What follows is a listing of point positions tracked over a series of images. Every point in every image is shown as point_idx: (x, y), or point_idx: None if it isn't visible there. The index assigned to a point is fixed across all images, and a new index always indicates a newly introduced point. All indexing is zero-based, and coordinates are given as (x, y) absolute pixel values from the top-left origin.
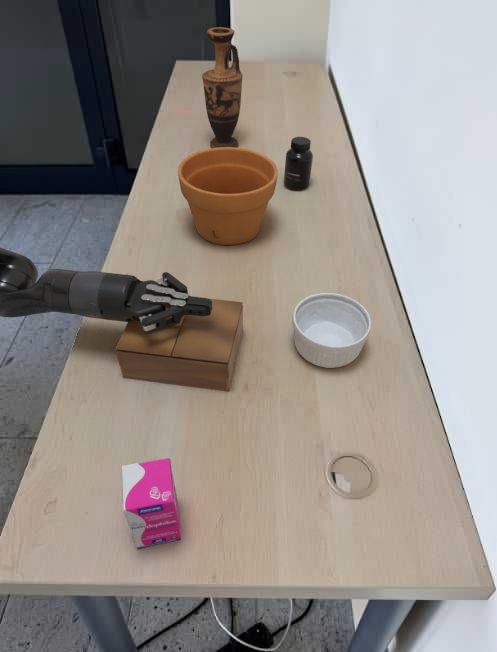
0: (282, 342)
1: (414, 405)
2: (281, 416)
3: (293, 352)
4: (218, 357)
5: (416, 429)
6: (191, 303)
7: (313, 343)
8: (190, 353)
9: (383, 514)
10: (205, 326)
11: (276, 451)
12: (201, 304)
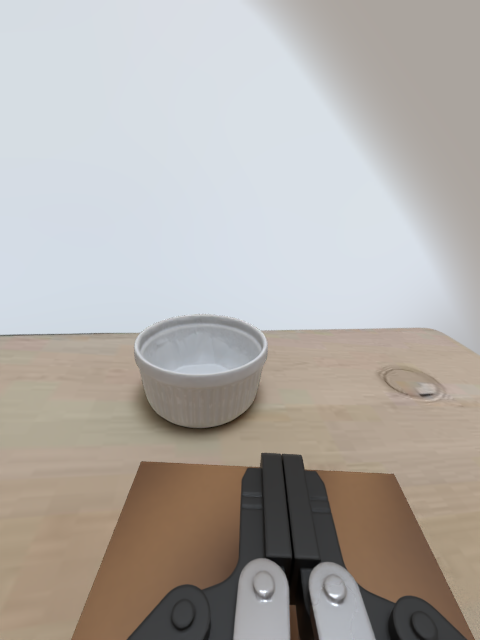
0: (194, 452)
1: (287, 339)
2: (372, 448)
3: (220, 435)
4: (393, 500)
5: (317, 340)
6: (315, 529)
7: (262, 358)
8: (440, 611)
9: (433, 365)
10: None
11: (443, 452)
12: (304, 481)
